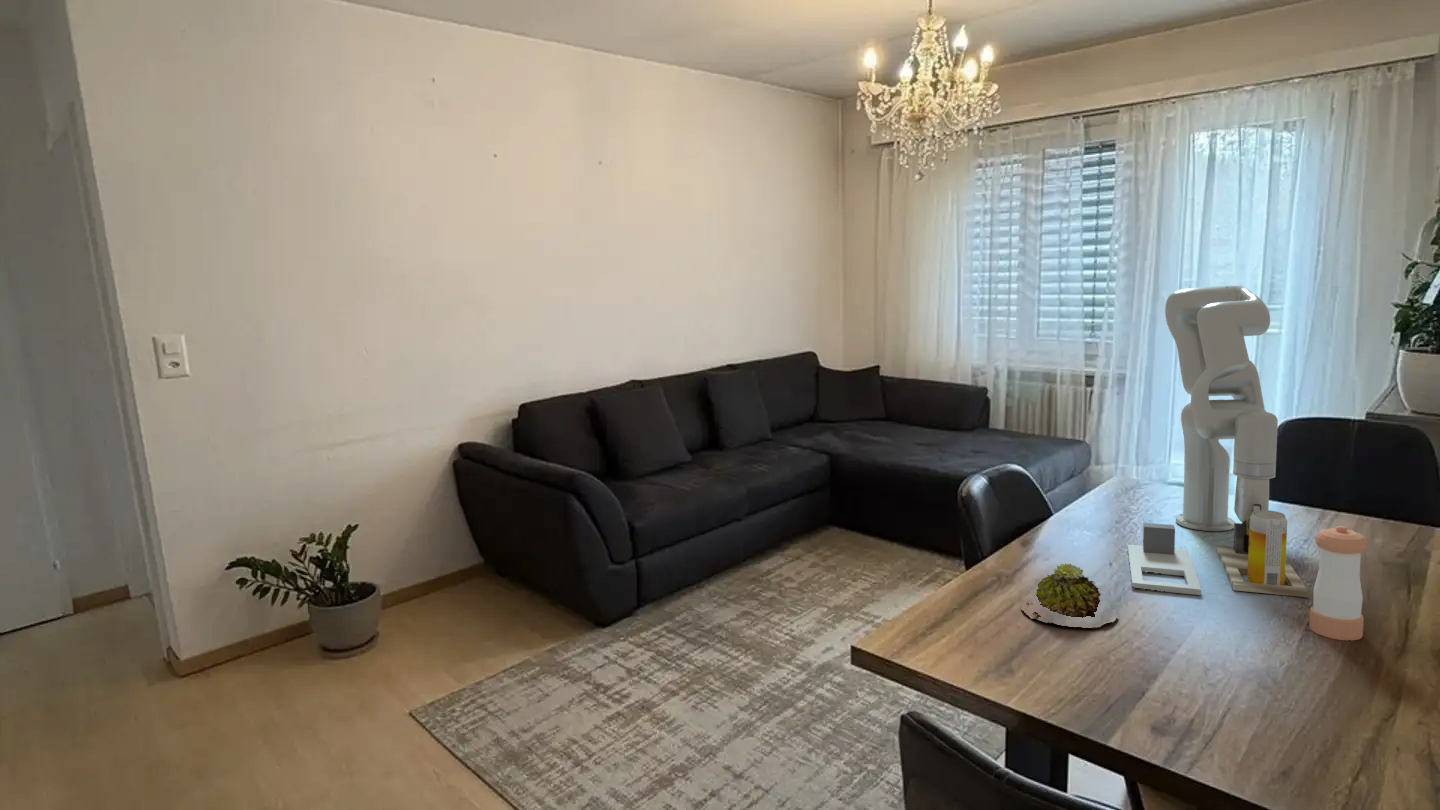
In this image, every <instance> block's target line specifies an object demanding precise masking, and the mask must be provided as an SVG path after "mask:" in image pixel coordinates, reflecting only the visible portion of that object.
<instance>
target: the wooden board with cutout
mask: <svg viewBox="0 0 1440 810" xmlns="http://www.w3.org/2000/svg"><path fill="white" fill-rule="evenodd" d="M1244 534H1246V524H1242V522H1241V523H1240V522H1239V523H1238V522H1235V523H1234V528H1233V545H1232V546H1228V545H1219V544H1218V545H1216V553H1217V555H1218V558H1219V560H1220V562H1221V565H1222V568H1223V569H1224V572H1225V574H1226V577H1227V580H1228V581H1229V583H1230V586H1231V589H1232V590H1233V591H1239V592H1249V593H1261V594H1266V595H1267V594H1269V595H1277V596H1278V595H1280V596H1287V597H1288V596H1290V597H1298V598H1299V597H1301V598H1309V591H1308V589H1307V587H1306V586H1305V585H1304V583H1303V581H1302V580H1301V578H1300V577H1299V575H1298V574H1297V573H1296V571H1295V569H1294V568H1293V566H1292V564H1291V563H1290V562H1289V560H1288V558H1286V561H1285V582H1286V584H1287V585H1283V586H1282V585H1271V584H1260V583H1250V582H1249V581H1244V579H1243V577H1242V575H1248V552H1244Z"/></svg>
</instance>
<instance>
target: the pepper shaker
mask: <svg viewBox="0 0 1440 810" xmlns="http://www.w3.org/2000/svg"><path fill="white" fill-rule="evenodd" d="M1314 541H1315V544H1316V545H1317V547H1319V549H1320V550H1319V563H1318V564H1319V565H1318V572H1317V576H1316V579H1315V582H1314V587H1313V598H1312V599H1313V605H1312V606H1310V609H1309V625H1308V627H1309V629H1310V630H1311V631H1312V632H1314V633H1316V634H1317V635H1320V636H1322V637H1324V638H1329V639H1333V640H1340V641H1349V640H1350V641H1358V640H1361V639H1362V637H1363V636H1364V634H1363V633H1364V621H1365V620H1364V615H1363V614H1362V606H1363V599H1364V597H1363V592H1362V584H1361V578H1360V577H1361V559H1362V558H1361V557H1362V556H1361V554H1362V553H1364V552H1365V551H1366V549H1368V542H1367V538H1365V536H1363V534H1361V533H1359V532H1356V531H1355V530H1352V529H1348V527H1346V526H1344V525H1337V526H1336V527H1330V528H1325V529H1321V530H1319V531H1318V533H1316V534H1315V536H1314Z"/></svg>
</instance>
